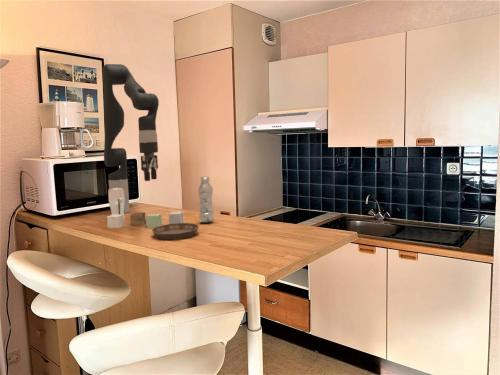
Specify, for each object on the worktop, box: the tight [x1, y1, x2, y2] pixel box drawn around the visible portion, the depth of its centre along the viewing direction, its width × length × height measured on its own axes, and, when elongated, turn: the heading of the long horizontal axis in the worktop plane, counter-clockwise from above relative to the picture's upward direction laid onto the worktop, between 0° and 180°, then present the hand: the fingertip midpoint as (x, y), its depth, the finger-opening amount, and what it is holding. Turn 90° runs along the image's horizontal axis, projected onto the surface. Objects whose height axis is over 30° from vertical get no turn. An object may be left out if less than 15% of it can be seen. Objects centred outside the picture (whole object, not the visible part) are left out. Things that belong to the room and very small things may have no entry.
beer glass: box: [107, 188, 126, 221], centre depth 182 cm, size 7×7×15 cm
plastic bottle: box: [197, 176, 215, 224], centre depth 172 cm, size 6×7×20 cm
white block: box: [106, 214, 125, 229], centre depth 170 cm, size 5×5×5 cm
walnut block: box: [129, 212, 147, 227], centre depth 173 cm, size 5×5×5 cm
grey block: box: [168, 211, 185, 224], centre depth 172 cm, size 5×5×5 cm
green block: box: [146, 213, 163, 229], centre depth 168 cm, size 5×5×5 cm
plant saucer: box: [151, 222, 200, 240], centre depth 152 cm, size 18×18×3 cm
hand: (150, 180), depth 167 cm, fingers open, 8 cm apart
